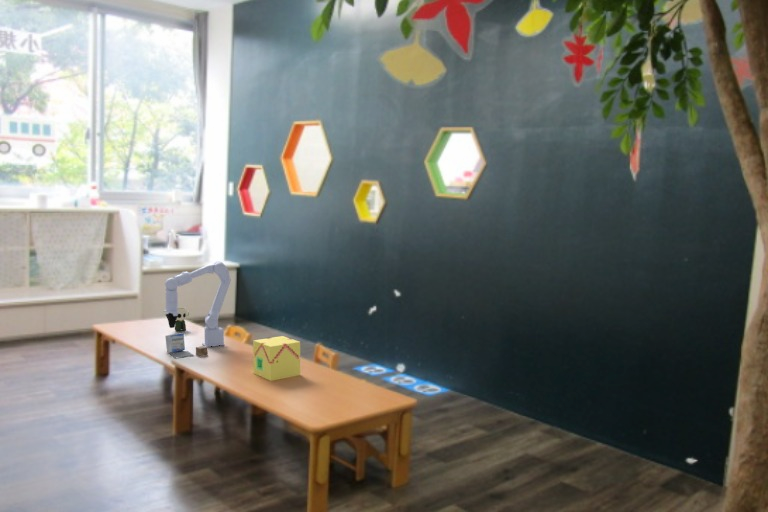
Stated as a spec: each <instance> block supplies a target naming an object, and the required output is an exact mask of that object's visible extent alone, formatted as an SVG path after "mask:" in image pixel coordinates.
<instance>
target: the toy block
mask: <svg viewBox="0 0 768 512" xmlns="http://www.w3.org/2000/svg"><path fill="white" fill-rule="evenodd" d="M252 343H253V345H252V348H253V349H252V351H253V354H252V355H253V361H252V362H253V368H252V369H253V374H255V375H257V376H260V377H261V378H263V379H266V380H268V381H271V382H272V381H277V380H282V379H287V378H292V377H297V376H301V358H300V357H301V341H299V340H296V339H293V338H292V339H291V338H289V337H286V336H284V335H281V336H274V337H273V336H272V337H270V338H261V339H254V340H252Z"/></svg>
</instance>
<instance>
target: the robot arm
mask: <svg viewBox="0 0 768 512" xmlns="http://www.w3.org/2000/svg"><path fill="white" fill-rule="evenodd" d="M214 273H215V274H216V275H217V276H218V278H219V280H220V283H219V286H218V288H217V291H216V294H215V296H214V299H213V302H212V305H211V308H210V310H209V312H208V314H207V315H206V316H205V318H204V322H205V326H204V342H202V346H205V347H207V348H211V346H212V347H217V346H218V347H220V346H224V345H225V340H224V339H225V338H224V337H225V335H224V333H225V332H224V329H223V328H222V327H220V326H219V317H220V313H221V309H222V306H223V304H224V301H225V298H226V295H227V293H228V290H229V287H230V285H231V276H230V272H229V269H228V267H227V266H226V264H224V262H223V261H215V262H211V263H209V264H206V265H204V266H202V267H200V268H197V269H195V270H193V271H191V272H189V271H181V273H180V274H178V275H173V276H172V277H169V278H168V279H166V280H165V283H164V284H165V285H164V286H165V309H163V312H164V313H165V314H164V315H165V317H166V318H167V322H168V326H169V328H170V329H175V323H176V319H177V317H178V308H179V307H178V305H179V304H178V287H181V286H184V285H187V284H189V283H191V282H192V280H193V279H195V278H198V277H200V276H202V275H205V274H214ZM219 345H220V346H219Z"/></svg>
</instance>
